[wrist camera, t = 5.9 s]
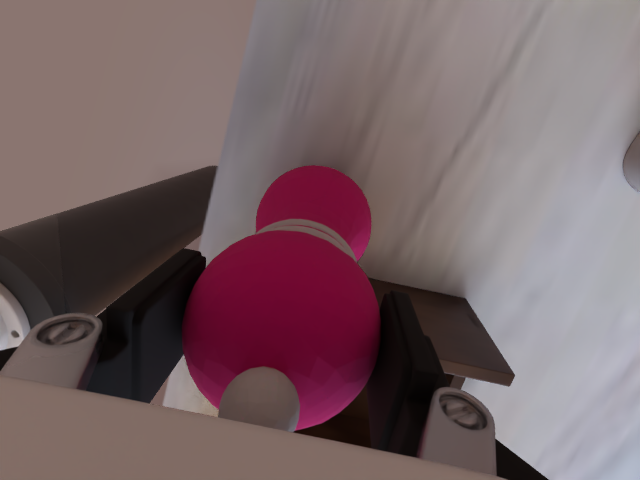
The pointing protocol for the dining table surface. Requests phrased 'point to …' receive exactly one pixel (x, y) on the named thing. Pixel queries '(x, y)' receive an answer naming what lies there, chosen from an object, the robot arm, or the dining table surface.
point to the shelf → (452, 350)
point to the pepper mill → (288, 308)
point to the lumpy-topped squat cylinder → (633, 164)
